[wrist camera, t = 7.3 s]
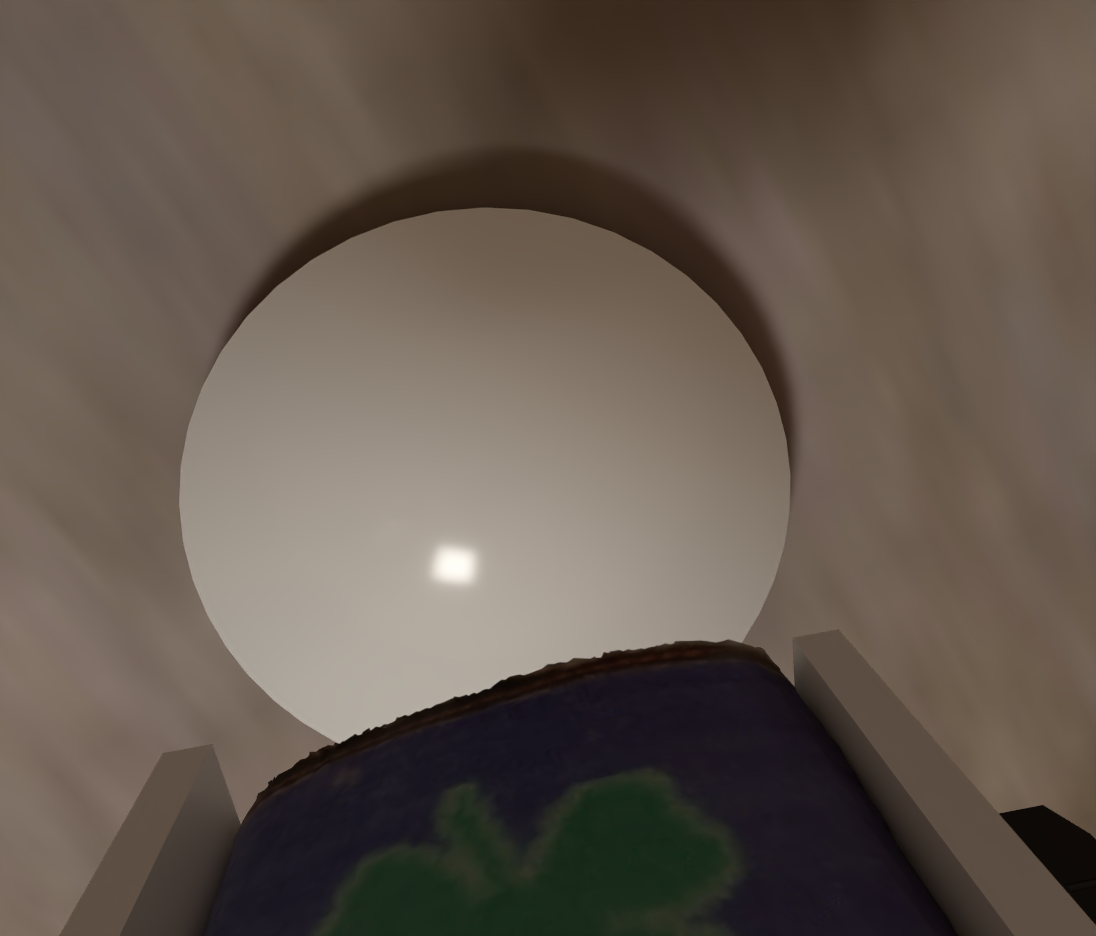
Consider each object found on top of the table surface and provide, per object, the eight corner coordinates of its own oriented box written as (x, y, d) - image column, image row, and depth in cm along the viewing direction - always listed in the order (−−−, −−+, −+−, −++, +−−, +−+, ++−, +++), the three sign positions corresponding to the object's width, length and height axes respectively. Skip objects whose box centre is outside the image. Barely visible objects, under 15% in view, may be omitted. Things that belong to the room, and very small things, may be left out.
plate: (282, 793, 25) (274, 821, 24) (109, 263, 20) (87, 266, 19) (787, 698, 26) (802, 720, 25) (758, 160, 20) (775, 158, 19)
